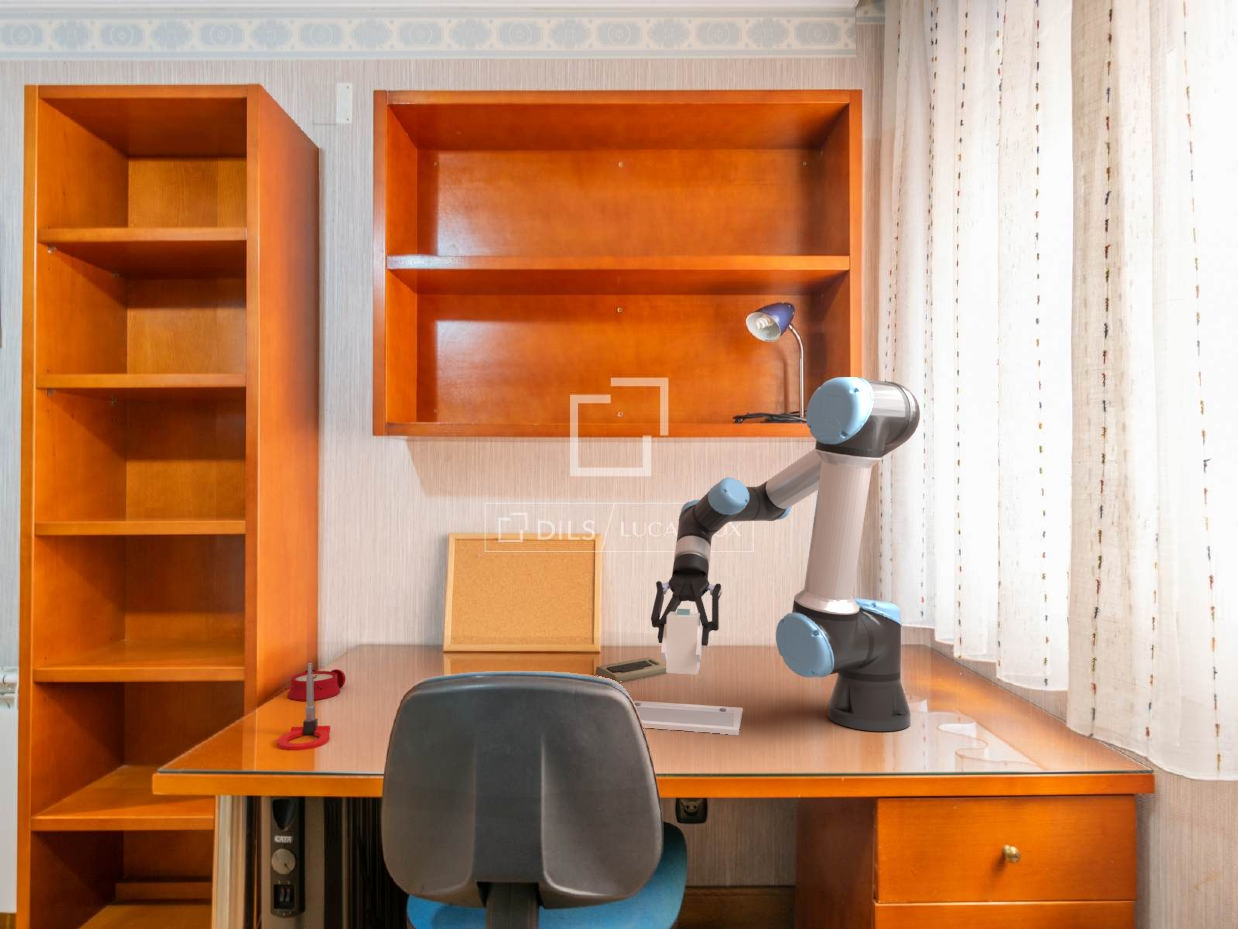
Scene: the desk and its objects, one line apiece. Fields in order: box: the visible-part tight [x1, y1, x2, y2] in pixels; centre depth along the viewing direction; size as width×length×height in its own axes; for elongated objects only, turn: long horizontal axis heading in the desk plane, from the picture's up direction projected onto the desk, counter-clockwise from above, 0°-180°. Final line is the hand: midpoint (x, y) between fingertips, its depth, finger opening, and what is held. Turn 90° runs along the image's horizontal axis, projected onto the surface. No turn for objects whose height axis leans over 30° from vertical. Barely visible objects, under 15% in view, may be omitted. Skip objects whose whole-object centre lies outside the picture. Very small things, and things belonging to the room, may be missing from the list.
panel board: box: [633, 700, 744, 736], centre depth 150 cm, size 22×14×4 cm, turn 78°
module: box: [665, 608, 701, 676], centre depth 154 cm, size 6×5×12 cm
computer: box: [595, 656, 668, 684], centre depth 184 cm, size 16×8×3 cm, turn 128°
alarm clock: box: [284, 668, 347, 703], centre depth 168 cm, size 10×6×15 cm
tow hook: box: [277, 662, 331, 751], centre depth 137 cm, size 8×13×9 cm
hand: (680, 657), depth 150 cm, fingers closed on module, 6 cm apart
